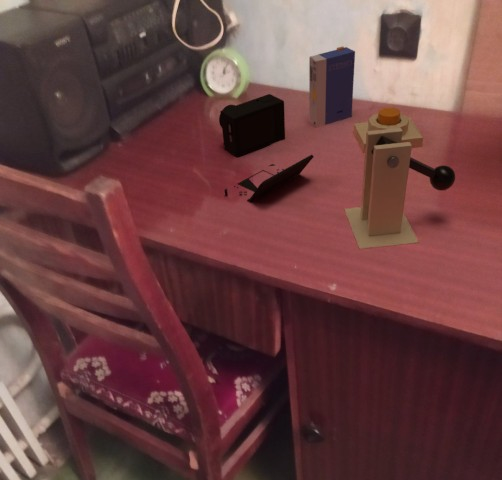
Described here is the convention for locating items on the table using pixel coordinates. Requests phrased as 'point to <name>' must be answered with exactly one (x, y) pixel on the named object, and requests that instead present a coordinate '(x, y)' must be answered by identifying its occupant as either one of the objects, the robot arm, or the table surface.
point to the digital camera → (252, 124)
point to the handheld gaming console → (273, 179)
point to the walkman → (331, 86)
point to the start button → (389, 116)
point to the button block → (405, 124)
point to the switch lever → (428, 170)
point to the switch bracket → (383, 193)
